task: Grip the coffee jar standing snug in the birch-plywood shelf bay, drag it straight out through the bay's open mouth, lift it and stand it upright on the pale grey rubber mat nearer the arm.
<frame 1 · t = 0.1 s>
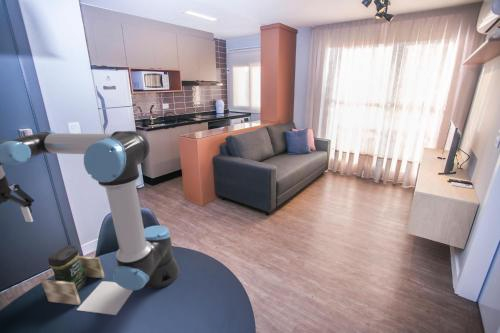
hand: (11, 231, 92), 28 cm above the table, fingers open, 13 cm apart
mat: (108, 296, 97), on the table
shelf bay: (78, 288, 102), on the table
coffee jar: (74, 288, 102), resting in shelf bay
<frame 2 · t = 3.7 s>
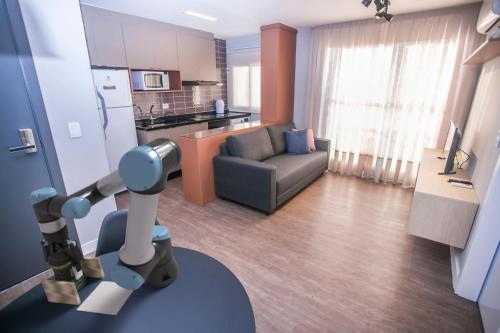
hand: (70, 275, 100), 6 cm above the table, fingers closed on coffee jar, 8 cm apart
coffee jar: (74, 288, 102), resting in shelf bay, touching gripper
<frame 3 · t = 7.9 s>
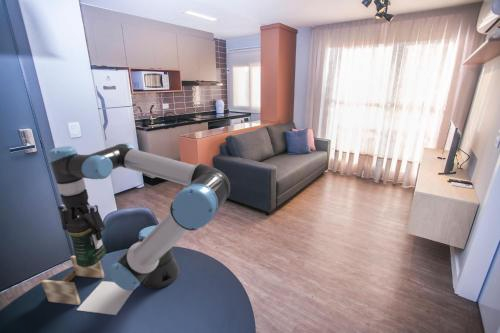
hand: (89, 245, 93), 22 cm above the table, fingers closed on coffee jar, 8 cm apart
coffee jar: (93, 259, 95), point 16 cm above the table, touching gripper
when the fingers open (7 cm above the table, at t = 12.4 s): coffee jar stays where it is, resting on mat.
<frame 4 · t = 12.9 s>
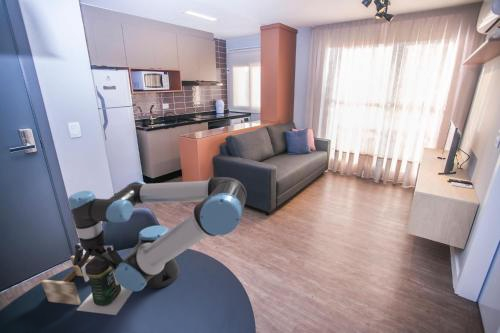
hand: (103, 280, 95), 8 cm above the table, fingers open, 12 cm apart
coffee jar: (108, 296, 97), resting on mat
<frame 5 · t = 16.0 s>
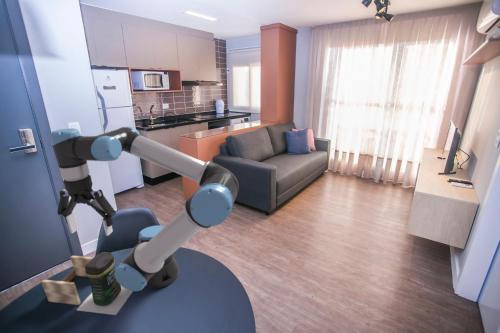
hand: (92, 232, 87), 30 cm above the table, fingers open, 13 cm apart
nothing on the table moved.
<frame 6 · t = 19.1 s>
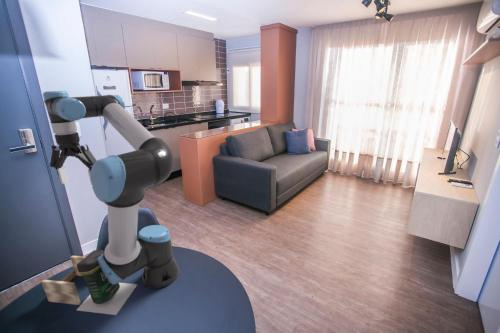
hand: (79, 183, 102), 41 cm above the table, fingers open, 13 cm apart
coffee jar: (108, 295, 97), point 1 cm above the table, touching arm, mat
at the end: coffee jar inside the target area on the mat (0.1 cm from its centre), point 0.9 cm above the mat's base; coffee jar tilted 12°; the gripper is holding nothing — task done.
